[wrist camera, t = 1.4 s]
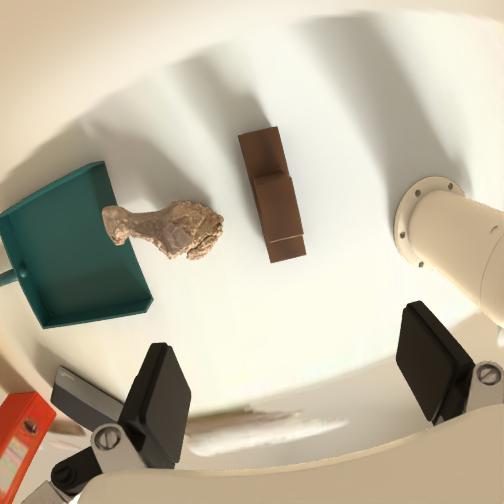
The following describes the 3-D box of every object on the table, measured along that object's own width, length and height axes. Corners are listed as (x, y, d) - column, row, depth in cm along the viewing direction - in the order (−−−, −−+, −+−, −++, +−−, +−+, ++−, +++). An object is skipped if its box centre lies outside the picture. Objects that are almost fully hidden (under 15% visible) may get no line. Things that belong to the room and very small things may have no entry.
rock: (107, 191, 31) (77, 203, 24) (226, 201, 32) (220, 216, 25) (107, 238, 33) (80, 259, 26) (220, 251, 34) (214, 277, 27)
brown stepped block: (275, 127, 29) (284, 120, 21) (302, 247, 34) (318, 280, 26) (238, 136, 29) (233, 132, 21) (269, 255, 34) (274, 290, 26)
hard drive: (61, 361, 41) (51, 375, 38) (149, 415, 45) (144, 431, 42) (53, 391, 45) (45, 403, 41) (128, 437, 49) (124, 450, 45)
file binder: (8, 392, 48) (-40, 471, 18) (35, 390, 46) (-21, 488, 16) (27, 413, 51) (-16, 492, 21) (57, 413, 49) (10, 511, 19)
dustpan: (103, 160, 30) (90, 163, 27) (153, 299, 36) (146, 312, 33) (-22, 231, 32) (-33, 237, 29) (19, 324, 39) (10, 333, 36)
